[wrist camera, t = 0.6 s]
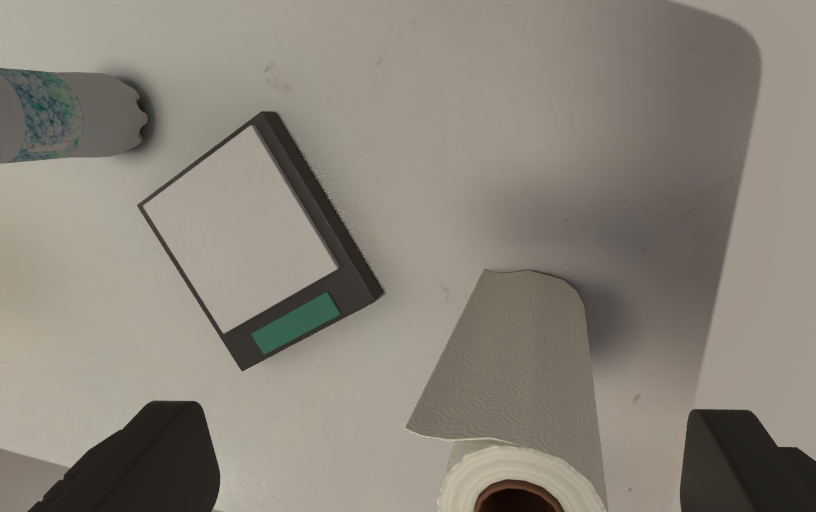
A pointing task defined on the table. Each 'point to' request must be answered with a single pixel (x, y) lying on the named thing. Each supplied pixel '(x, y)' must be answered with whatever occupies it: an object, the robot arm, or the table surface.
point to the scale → (259, 243)
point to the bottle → (66, 115)
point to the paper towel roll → (516, 401)
